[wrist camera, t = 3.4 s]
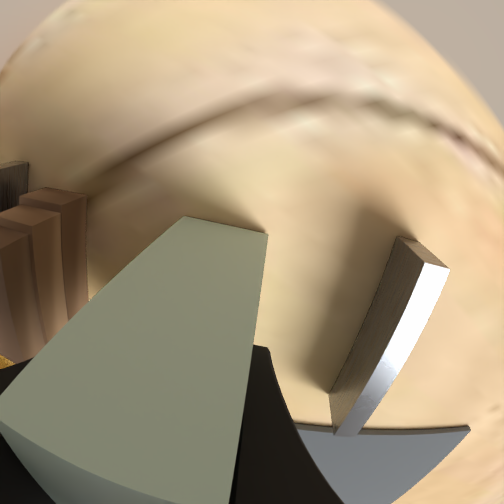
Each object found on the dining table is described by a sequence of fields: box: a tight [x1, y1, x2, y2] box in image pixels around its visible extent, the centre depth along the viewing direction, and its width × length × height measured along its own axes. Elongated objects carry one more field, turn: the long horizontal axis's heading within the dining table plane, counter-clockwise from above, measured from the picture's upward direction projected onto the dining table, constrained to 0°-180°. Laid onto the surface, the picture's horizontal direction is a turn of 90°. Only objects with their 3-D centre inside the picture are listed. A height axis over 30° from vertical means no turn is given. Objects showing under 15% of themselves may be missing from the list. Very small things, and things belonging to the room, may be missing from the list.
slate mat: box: [294, 423, 471, 504], centre depth 17 cm, size 14×18×1 cm
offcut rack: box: [0, 161, 450, 437], centre depth 11 cm, size 17×8×2 cm, turn 79°
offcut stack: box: [0, 187, 89, 364], centre depth 10 cm, size 2×6×5 cm, turn 169°
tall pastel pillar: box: [0, 216, 268, 504], centre depth 7 cm, size 3×6×9 cm, turn 169°
